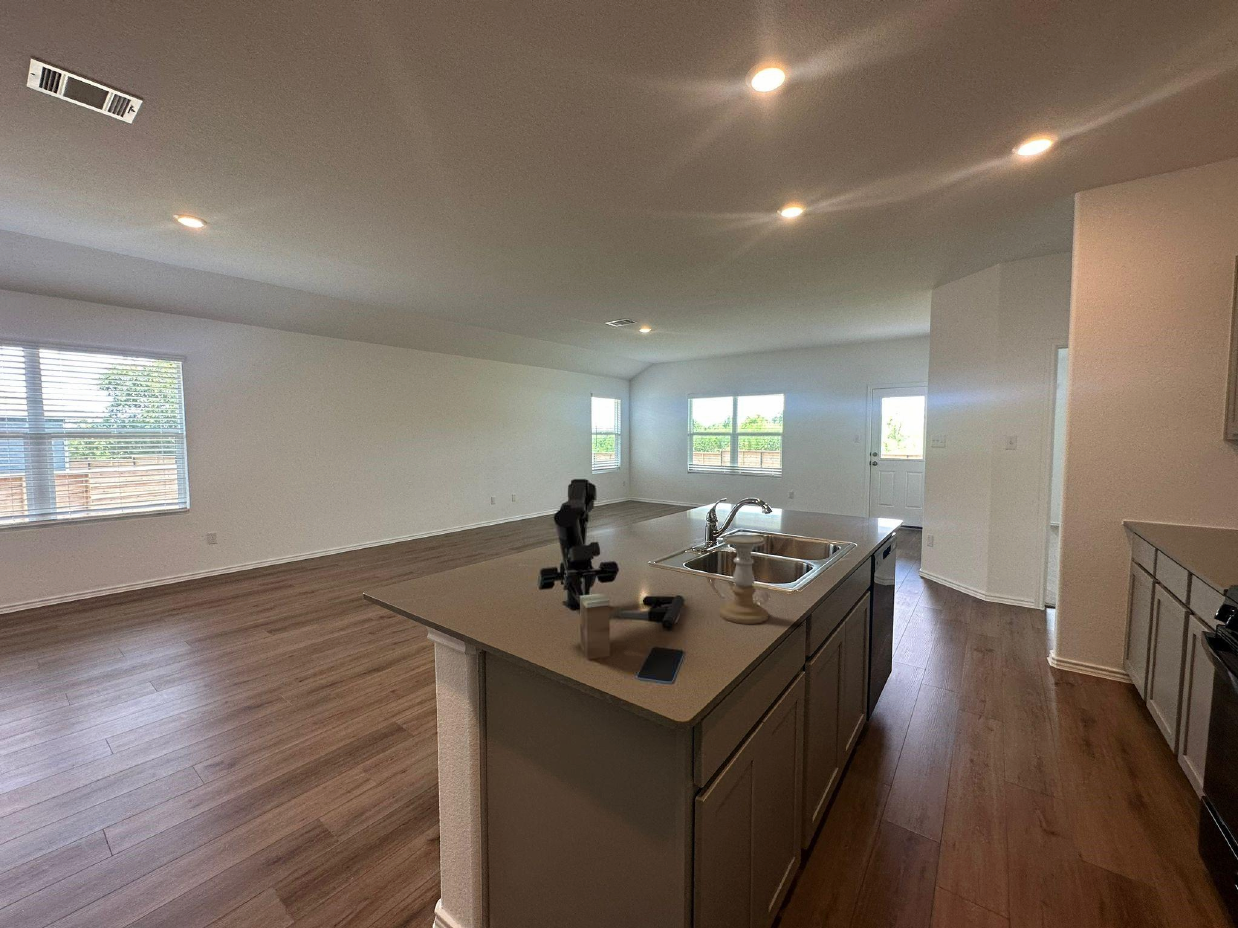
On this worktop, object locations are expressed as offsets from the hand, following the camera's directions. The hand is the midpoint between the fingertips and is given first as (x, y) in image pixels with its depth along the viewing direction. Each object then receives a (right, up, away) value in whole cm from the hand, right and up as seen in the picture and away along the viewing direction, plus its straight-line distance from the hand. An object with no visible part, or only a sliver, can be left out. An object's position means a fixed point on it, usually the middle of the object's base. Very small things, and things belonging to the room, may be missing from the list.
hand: (585, 607), depth 114 cm
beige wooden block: (+2, -8, -6) cm, 10 cm away
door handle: (+16, -7, +17) cm, 25 cm away
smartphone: (+16, -9, -12) cm, 22 cm away
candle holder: (+40, -7, +16) cm, 43 cm away
